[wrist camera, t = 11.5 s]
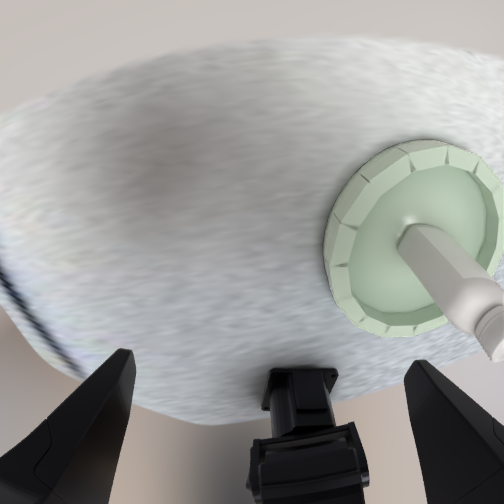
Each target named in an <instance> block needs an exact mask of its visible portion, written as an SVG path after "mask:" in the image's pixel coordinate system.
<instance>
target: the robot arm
mask: <svg viewBox="0 0 504 504" xmlns="http://www.w3.org/2000/svg"><path fill="white" fill-rule="evenodd" d="M135 377H136V365H135V360H134V355H133V352H132V350H129V349H123V348H120V349H118V350H117V351H115V352H114V353H113V354H112V355H111V356H110V357H109V358H108V359H107V360H106V361H105V362H104V363H103V364H102V365H101V366H100V367H99V368H98V369H97V370H95V371H94V372H93V373H92V374H91V375H90V376H89V377H88V378H87V379H86V380H85V381H84V382H83V383H82V384H81V385H80V386H79V387H78V388H77V389H76V390H75V391H74V392H73V393H72V394H71V395H70V396H69V397H68V398H66V399H65V400H64V402H62V403H61V404H60V405H59V406H58V407H57V408H56V409H55V410H54V411H53V412H52V413H51V414H50V415H49V416H48V417H47V419H45V420H44V421H43V422H42V423H41V424H40V425H39V426H38V427H37V428H36V429H34V431H32V432H31V433H30V434H29V435H28V436H27V437H26V438H24V439H23V440H22V441H21V442H19V443H18V444H17V445H16V446H14V447H13V448H12V449H11V450H9V451H8V452H7V453H5V454H4V455H3V456H1V457H0V504H108V503H109V498H110V493H111V488H112V485H113V480H114V476H115V472H116V467H117V463H118V459H119V455H120V451H121V447H122V444H123V440H124V436H125V432H126V428H127V425H128V421H129V416H130V410H131V403H132V396H133V390H134V384H135ZM337 377H338V371H337V370H335V369H272V370H270V372H269V375H268V380H267V384H266V388H265V392H264V396H263V400H262V404H261V409H262V410H263V411H270V414H271V426H272V438H269V439H254V440H253V447H252V448H251V449H250V456H251V457H250V458H251V460H250V469H249V473H248V478H247V482H246V488H247V489H248V490H249V491H250V492H251V493H252V495H253V497H254V500H255V502H256V504H365V500H364V492H363V488H364V487H368V486H369V470H368V464H367V460H366V456H365V452H364V449H363V447H362V443H361V441H360V438H359V435H358V432H357V429H356V426H355V423H354V422H350V423H348V424H345V425H341V426H336V423H335V418H334V414H333V409H332V405H331V400H330V396H329V394H330V392H331V390H332V388H333V386H334V384H335V382H336V380H337ZM404 385H405V392H406V398H407V405H408V411H409V417H410V422H411V427H412V431H413V435H414V439H415V443H416V448H417V452H418V457H419V462H420V466H421V471H422V476H423V481H424V486H425V492H426V497H427V503H428V504H504V426H503V425H502V424H501V423H499V422H498V421H497V420H496V419H495V418H493V417H492V416H491V415H490V414H489V413H488V412H486V411H485V410H484V409H483V408H482V407H481V406H480V405H479V404H477V403H476V402H475V401H474V400H473V399H472V398H470V397H469V396H468V395H467V394H466V393H465V392H463V391H462V390H461V389H459V387H457V386H456V385H455V384H454V383H453V382H451V381H450V380H449V379H448V378H447V377H446V376H444V375H443V374H442V373H441V372H439V371H438V370H437V369H436V368H435V367H434V366H432V365H431V364H430V363H429V362H428V361H426V360H415V361H414V362H413V363H412V365H411V366H410V368H409V370H408V371H407V373H406V374H405V377H404Z"/></svg>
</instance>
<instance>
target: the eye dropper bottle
mask: <svg viewBox="0 0 504 504" xmlns="http://www.w3.org/2000/svg"><path fill="white" fill-rule="evenodd" d="M398 252H399V254H400V256H401V257H402V258H403V260H404V261H405V262H406V264H407V265H408V266H409V267H410V269H411V270H412V271H413V273H414V274H415V275H416V277H417V278H418V280H419V281H420V282H421V284H422V285H423V286H424V288H425V289H426V290H427V292H428V293H429V295H430V296H431V297H432V299H433V300H434V302H435V303H436V304H437V306H438V307H439V308H440V310H441V311H442V312H443V314H444V315H445V317H446V318H447V319H448V320H449V321H450V323H451V324H452V325H453V326H455V327H456V328H457V329H459V330H460V331H462V332H464V333H466V334H469V335H472V336H475V337H476V338H477V340H478V341H479V343H480V344H481V346H482V347H483V349H484V350H485V352H486V353H487V355H488V356H489V358H490V360H491V361H492V362H501V361H503V360H504V290H503V289H502V288H501V287H500V286H499V284H498V283H497V282H496V281H495V280H494V279H493V278H492V277H491V276H490V275H489V274H488V273H487V272H486V271H485V270H484V268H483V267H482V266H481V265H480V264H479V263H478V262H477V261H476V260H475V259H474V258H473V257H472V256H471V255H470V254H469V253H468V252H467V251H465V250H464V249H463V248H462V247H461V246H460V245H459V244H458V243H457V242H456V241H455V240H454V239H453V238H452V237H451V236H450V235H448V234H447V233H446V232H444V231H443V230H441V229H439V228H437V227H434V226H430V225H413V226H411V227H410V228H409V229H408V230H407V232H406V234H405V235H404V237H403V239H402V241H401V243H400V244H399V247H398Z"/></svg>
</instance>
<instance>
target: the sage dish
mask: <svg viewBox="0 0 504 504" xmlns="http://www.w3.org/2000/svg"><path fill="white" fill-rule="evenodd" d="M413 225H430V226H434V227H437V228H439V229H441V230H443V231H444V232H446V233H447V234H448V235H450V236H451V237H452V238H453V239H454V240H455V241H456V242H457V243H458V244H459V245H460V246H461V247H462V248H463V249H464V250H465V251H467V252H468V253H469V254H470V255H471V256H472V257H473V258H474V259H475V260H476V261H477V262H478V263H479V264H480V265H481V266H482V267H483V268H484V270H485V271H486V272H487V273H488V274H489V275H490V276H491V277H493V275H494V273H495V271H496V269H497V266H498V264H499V262H500V260H501V257H502V255H503V252H504V189H503V185H502V182H501V180H500V179H499V178H498V176H497V175H496V174H495V173H494V171H493V170H492V169H491V168H490V167H489V166H488V164H487V163H486V162H485V161H484V160H483V159H482V157H480V156H478V155H476V154H474V153H472V152H469V151H467V150H464V149H462V148H459V147H456V146H453V145H450V144H448V143H445V142H441V141H437V140H414V141H408V142H405V143H401V144H398V145H395V146H393V147H391V148H388V149H386V150H384V151H383V152H381V153H379V154H378V155H376V156H375V157H373V158H372V159H371V160H369V161H368V162H367V163H366V164H364V165H363V166H362V167H361V168H360V169H359V170H358V171H357V172H356V173H355V174H354V175H353V176H352V177H351V179H350V180H349V181H348V183H347V184H346V185H345V187H344V188H343V189H342V191H341V193H340V195H339V196H338V198H337V200H336V201H335V204H334V206H333V208H332V211H331V213H330V215H329V219H328V222H327V225H326V229H325V235H324V242H323V257H324V265H325V269H326V273H327V276H328V280H329V285H330V289H331V292H332V295H333V297H334V300H335V303H336V304H337V305H338V306H339V308H340V309H341V310H342V311H343V313H344V314H345V315H346V316H347V317H348V319H349V320H350V321H351V322H352V324H353V325H354V326H355V327H358V328H360V329H363V330H365V331H367V332H370V333H372V334H375V335H377V336H380V337H412V336H415V335H418V334H421V333H424V332H427V331H429V330H432V329H435V328H437V327H440V326H442V325H444V324H446V323H447V322H448V321H449V320H448V319H447V318H446V317H445V315H444V314H443V312H442V311H441V310H440V308H439V307H438V306H437V304H436V303H435V302H434V300H433V299H432V297H431V296H430V295H429V293H428V292H427V290H426V289H425V288H424V286H423V285H422V284H421V282H420V281H419V280H418V278H417V277H416V275H415V274H414V273H413V271H412V270H411V269H410V267H409V266H408V265H407V264H406V262H405V261H404V260H403V258H402V257H401V256H400V254H399V252H398V247H399V244H400V243H401V241H402V239H403V237H404V235H405V234H406V232H407V230H408V229H409V228H410V227H411V226H413Z"/></svg>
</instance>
